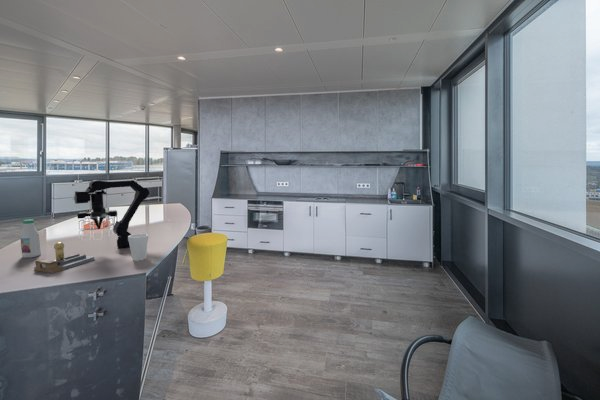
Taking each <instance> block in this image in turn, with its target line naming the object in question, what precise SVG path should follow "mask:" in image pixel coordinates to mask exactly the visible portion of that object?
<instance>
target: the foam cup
mask: <svg viewBox="0 0 600 400" xmlns="http://www.w3.org/2000/svg"><path fill="white" fill-rule="evenodd" d="M128 241H129V245H130V247H129V248H130V253H131V259H132V261H133V260H134V261H133V262H140V261H139V260H141V261H144V260H143V259H145V260H146V259H147V251H148V241H149V234H148V233H134V234H132V233H131V235H129V236H128Z"/></svg>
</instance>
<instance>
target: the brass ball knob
mask: <svg viewBox="0 0 600 400" xmlns="http://www.w3.org/2000/svg"><path fill="white" fill-rule="evenodd" d="M64 248H65V244H64V243H63V242H61V241H59V242H56V243H55V244H54V245H53V249H54V251H55V260H53V261H56V262H57V265H58V264H59V262H61V261H64V260H66V259H64V257H65V251H64V250H65V249H64ZM41 265H42V267H43V268H45V264H41Z"/></svg>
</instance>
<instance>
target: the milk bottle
mask: <svg viewBox="0 0 600 400" xmlns="http://www.w3.org/2000/svg"><path fill="white" fill-rule="evenodd" d="M22 225H23V228H22V230H21V233H20V247H21V249H20V250H21V256H22V258H23V259H28V258H35V257H36V258H37V257H39V256H41V254H42V251H41V240H40V232H39V231H38V230H37V228H36V226H35V219H32V218H31V219H30V218H29V219H24V220H22Z"/></svg>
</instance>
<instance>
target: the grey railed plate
mask: <svg viewBox="0 0 600 400" xmlns="http://www.w3.org/2000/svg"><path fill="white" fill-rule="evenodd" d="M64 259H66V260H64V261H61V262H59V264H58V265H57V262H56V261H54V260H52V259H46V258H40V259H36V260H35V266H34V267H33V270H34V271H38V272H43V273H49V274H54V273H58V272H61V271H63V270H67V269H70V268H73V267H76V266H80V265H83V264H85V263H89V262H92V261H95V257H94V256H90V255H87V254H80V253H76V254H72V255H68V256H66V257H65V256H64ZM41 264H45V268H43V267H42V265H41Z"/></svg>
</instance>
